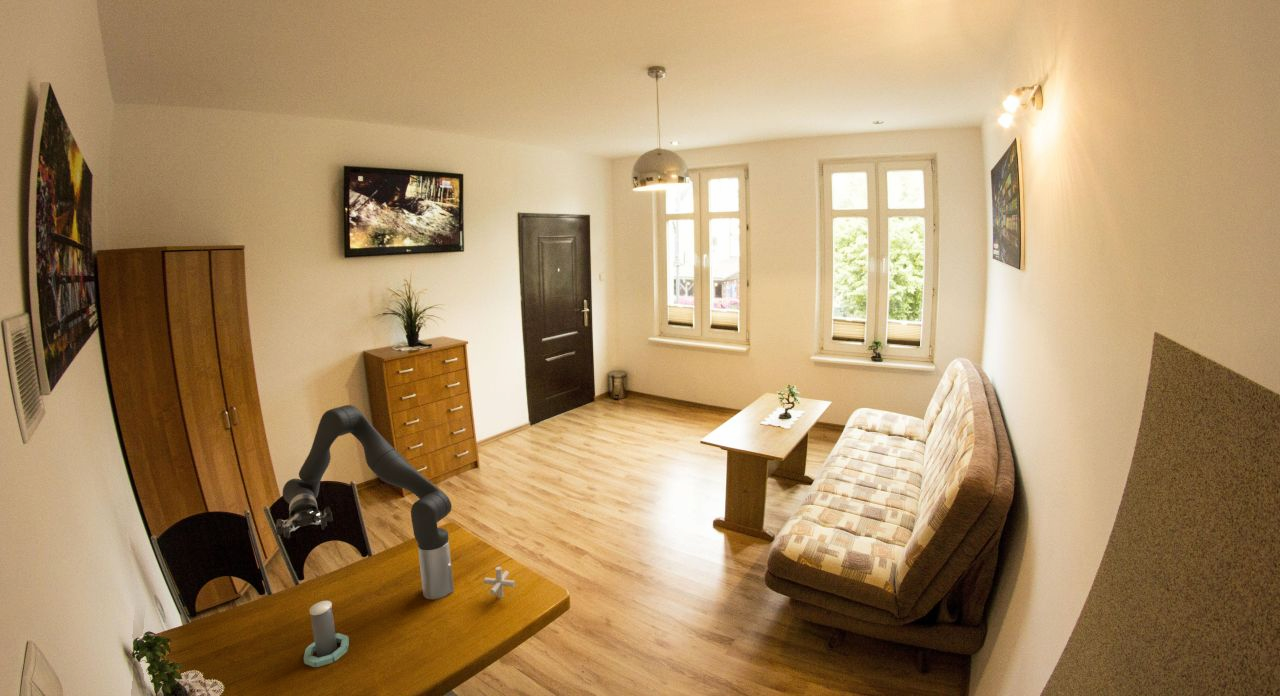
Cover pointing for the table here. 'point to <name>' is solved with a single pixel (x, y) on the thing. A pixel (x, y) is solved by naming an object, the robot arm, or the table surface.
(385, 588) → the table surface
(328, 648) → the cap cylinder
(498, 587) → the pipe connector
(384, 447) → the robot arm
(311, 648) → the barrel ring
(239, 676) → the table surface
